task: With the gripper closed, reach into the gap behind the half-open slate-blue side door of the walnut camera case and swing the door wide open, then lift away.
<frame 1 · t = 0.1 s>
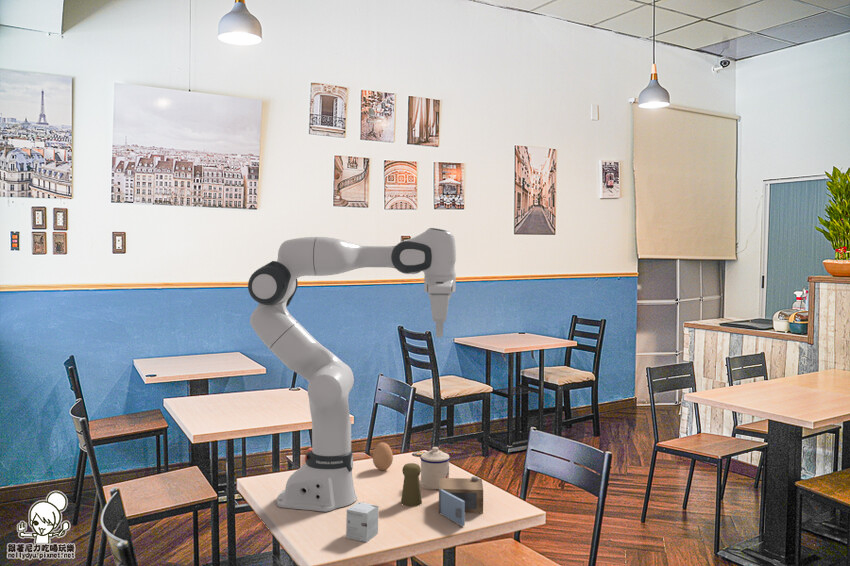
hand: (439, 334, 187), 48 cm above the table, tool pointing down, fingers open, 8 cm apart
egg: (382, 470, 216), on the table
case: (460, 506, 185), on the table
skincare box: (362, 536, 165), on the table
olive green pepper mill: (411, 503, 188), on the table
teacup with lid: (433, 484, 204), on the table
door: (450, 507, 175), point 3 cm above the table, hinge at 55.0°
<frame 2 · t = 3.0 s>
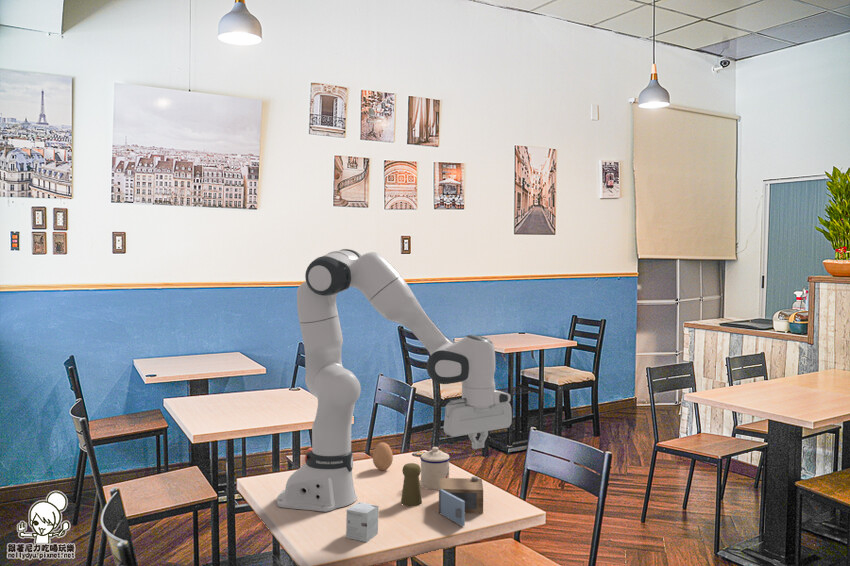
hand: (477, 448, 176), 19 cm above the table, tool pointing down, fingers closed
nothing on the table moved.
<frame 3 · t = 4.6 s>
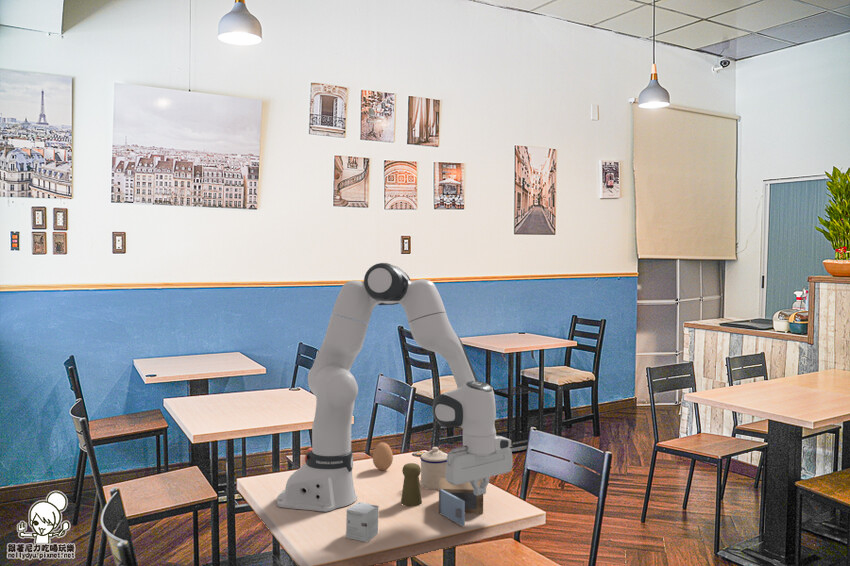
hand: (479, 494, 177), 6 cm above the table, tool pointing down, fingers closed
nothing on the table moved.
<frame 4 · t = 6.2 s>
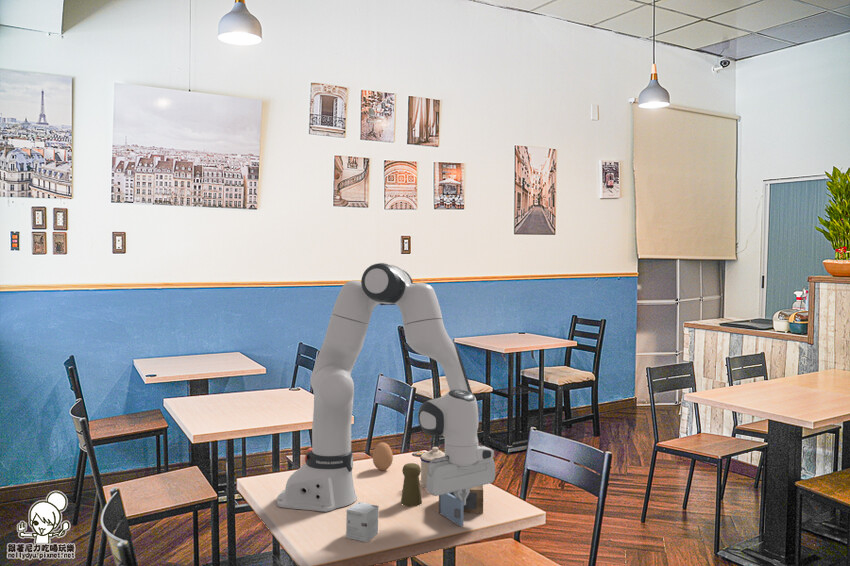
hand: (461, 505, 173), 5 cm above the table, tool pointing down, fingers closed
door: (449, 507, 175), point 3 cm above the table, hinge at 57.3°, touching gripper
everything else where it was.
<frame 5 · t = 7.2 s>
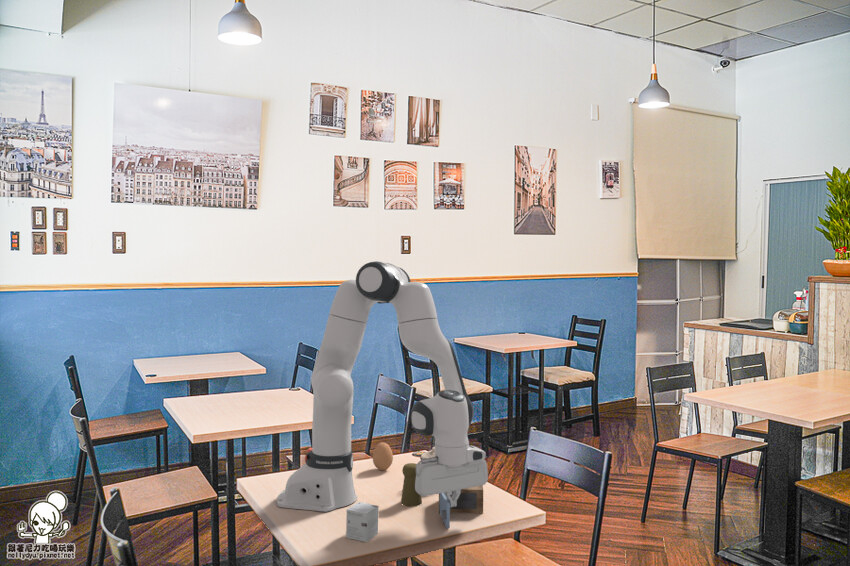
hand: (451, 506, 172), 5 cm above the table, tool pointing down, fingers closed
door: (442, 508, 175), point 3 cm above the table, hinge at 79.0°, touching gripper
everything else where it was.
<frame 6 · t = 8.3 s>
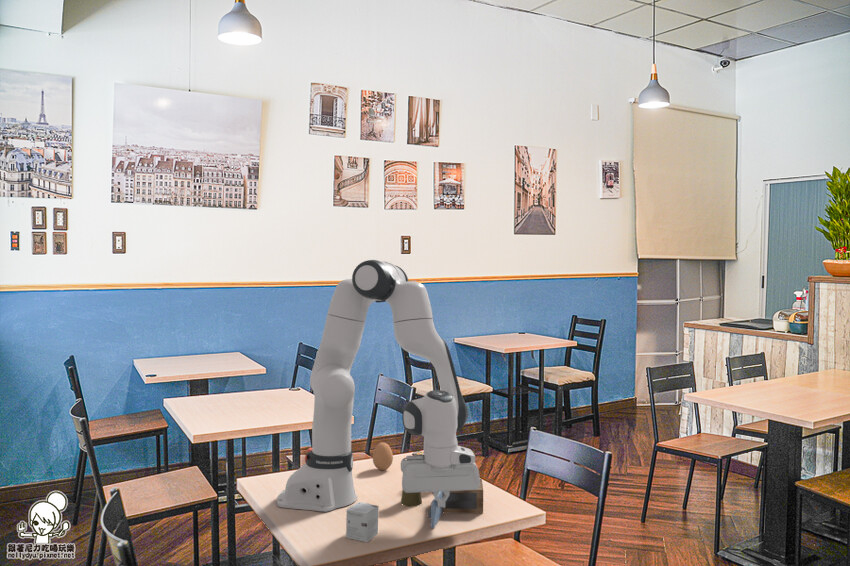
hand: (441, 507, 171), 5 cm above the table, tool pointing down, fingers closed
door: (435, 507, 175), point 4 cm above the table, hinge at 101.6°, touching gripper
everything else where it was.
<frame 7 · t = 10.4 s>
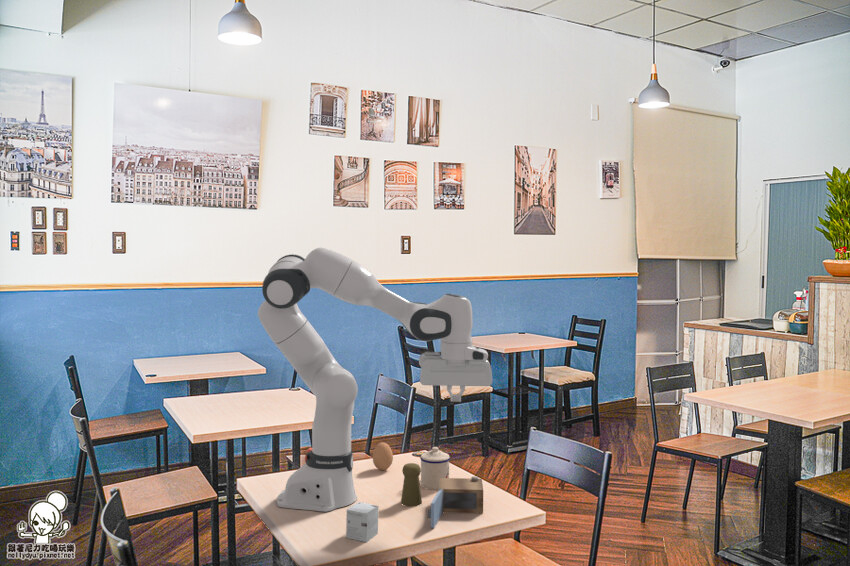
hand: (455, 401, 185), 30 cm above the table, tool pointing down, fingers closed
door: (435, 507, 175), point 4 cm above the table, hinge at 101.9°
everything else where it was.
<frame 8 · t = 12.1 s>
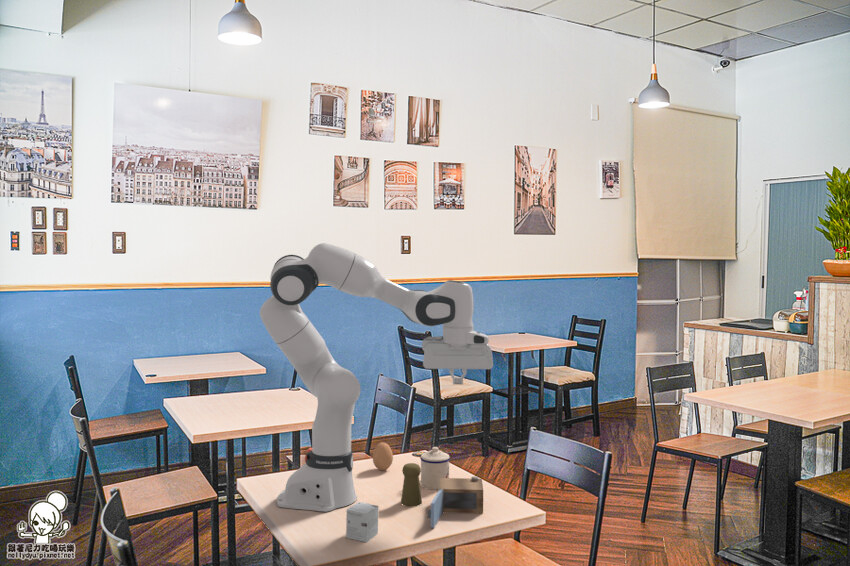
hand: (457, 384, 191), 33 cm above the table, tool pointing down, fingers closed
nothing on the table moved.
at the end: door at +102° (first picture: +55°); door touching nothing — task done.
